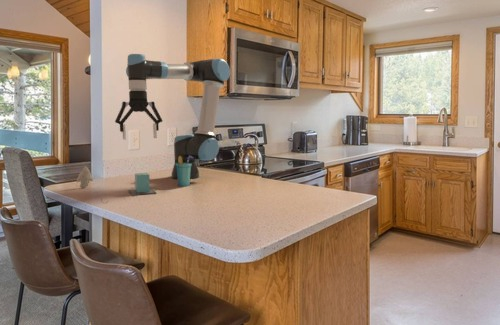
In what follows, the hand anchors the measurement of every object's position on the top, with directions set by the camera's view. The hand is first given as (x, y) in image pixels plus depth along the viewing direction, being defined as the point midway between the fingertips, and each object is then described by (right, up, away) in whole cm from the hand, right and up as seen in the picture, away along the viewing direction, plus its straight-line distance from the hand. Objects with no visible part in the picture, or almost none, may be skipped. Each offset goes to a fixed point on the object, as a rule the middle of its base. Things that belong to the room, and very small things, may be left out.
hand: (140, 138), depth 175 cm
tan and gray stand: (+2, -24, -3) cm, 24 cm away
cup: (+18, -22, +15) cm, 32 cm away
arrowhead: (-28, -23, +7) cm, 36 cm away
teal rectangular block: (+2, -23, -3) cm, 24 cm away
